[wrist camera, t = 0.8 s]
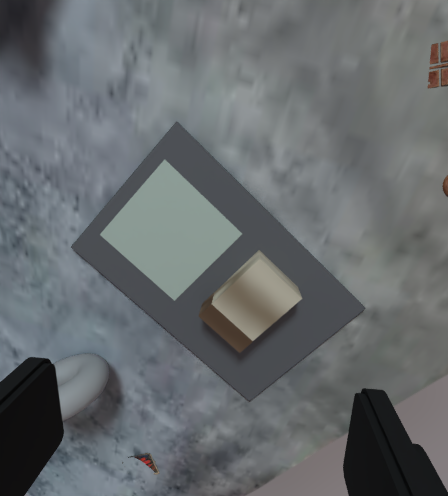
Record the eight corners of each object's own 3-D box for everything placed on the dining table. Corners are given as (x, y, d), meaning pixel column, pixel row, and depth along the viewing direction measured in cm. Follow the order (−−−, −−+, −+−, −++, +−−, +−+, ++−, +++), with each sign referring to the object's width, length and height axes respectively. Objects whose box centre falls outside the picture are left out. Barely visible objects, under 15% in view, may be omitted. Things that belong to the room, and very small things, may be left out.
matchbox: (119, 459, 46) (118, 462, 45) (148, 445, 45) (147, 448, 44) (139, 482, 47) (138, 485, 46) (168, 468, 46) (167, 472, 45)
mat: (249, 398, 41) (249, 401, 41) (72, 245, 37) (70, 247, 37) (364, 306, 37) (365, 308, 36) (177, 121, 33) (176, 121, 32)
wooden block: (240, 337, 38) (239, 353, 35) (202, 303, 37) (198, 316, 34) (298, 287, 36) (302, 298, 33) (258, 249, 35) (259, 258, 32)
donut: (116, 339, 40) (75, 398, 31) (126, 363, 41) (89, 427, 31) (44, 355, 42) (-17, 416, 32) (55, 378, 42) (-2, 444, 33)
